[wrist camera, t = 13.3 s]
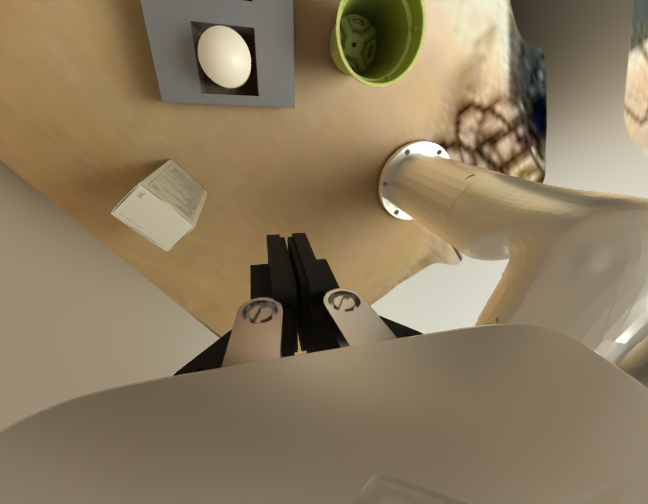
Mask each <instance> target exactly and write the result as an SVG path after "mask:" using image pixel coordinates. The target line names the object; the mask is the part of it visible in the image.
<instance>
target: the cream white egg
mask: <svg viewBox="0 0 648 504" xmlns="http://www.w3.org/2000/svg"><path fill="white" fill-rule="evenodd" d="M198 58H199V62H200V64H201V67H202V69H203V70H204V72H205V73H206V75H207V76H208V77H209V78H210V79H211V80H212V81H214V82H215V83H217V84H218V85H220V86H222V87H224V88H227V89H237V88H240V87H241V86H243V85H244V84H245V83H246V82H247V80H248V78H249V76H250V72H251V56H250V52H249V49H248V47H247V45H246V43H245V41H244V40H243V38H242V37H241V36H240V35H239V34H238V33H237V32H236V31H234V30H233V29H231V28H229V27H226V26H213V27H210V28H208V29H207V30H206V31H205V32H204V33H203V34H202V36H201V37H200V40H199V43H198Z"/></svg>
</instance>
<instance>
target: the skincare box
mask: <svg viewBox="0 0 648 504" xmlns="http://www.w3.org/2000/svg"><path fill="white" fill-rule="evenodd" d="M207 194H208V192H207V191H206V190H205V189H204V188H202V187H201V186H200V185H199V184H198V183H197V182H196V181H195V180H194V179H193V178H192V177H190V176H189V175H188V174H187V173H186V172H185V171H184V170H183V169H181V168H180V167H179V166H178V165H177V164H176V163H175V162H173V161H172V160H171V159H169V160H168V161H167V162H165V163H164V164H163V165H162V166H160V167H159V168H158V169H156V170H155V171H154V172H152V173H151V174H150V175H149V176H147V177H146V178H145V179H144V180H142V181H141V182H140V183H138V184H137V185H136V186H135V187H134V188H133V189H132V190H131V191H130V192H129V193H128V194H127V195H126V196H125V197H124V198H123V199H122V200H121V201H120V202H119V203H118V204H117V205H116V206H115V207H114V209H113V210H112V211H111V214H112V215H113V216H115V217H116V218H117V219H119V220H120V221H122V222H123V223H124V224H126V225H127V226H129V227H130V228H132V229H133V230H135V231H136V232H138V233H139V234H141V235H142V236H144V237H145V238H147V239H148V240H150V241H151V242H153V243H154V244H156V245H157V246H159V247H160V248H162V249H164V250H165V251H167V252H168V251H169V250H171V249H172V248H173V247H174V246H175V245H176V244H178V243H179V242H180V241H181V240H182V239H183V238H184V237H186V236H187V235H188V234H189V233H190V232H191V231H192V230H193V229H194V228H195V226H196V224H197V221H198V218H199V215H200V213H201V210H202V207H203V205H204V202H205V199H206V197H207Z"/></svg>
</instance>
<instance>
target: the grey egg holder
mask: <svg viewBox="0 0 648 504" xmlns="http://www.w3.org/2000/svg"><path fill="white" fill-rule="evenodd" d="M140 2H141V7H142V12H143V16H144V21H145V25H146V30H147V35H148V39H149V44H150V48H151V53H152V58H153V62H154V67H155V71H156V76H157V81H158V85H159V90H160V94H161V99H162V102H168V103H192V104H215V105H239V106H263V107H287V108H295V101H294V17H293V0H251V1H244V0H140ZM213 26H226V27H229V28H231V29H233V30H234V31H236V32H237V33H238V34H239V35H247V36H254V46H255V60H256V75H257V90H258V96H245V95H225V94H206V88H205V81H204V74H203V69H202V67H201V64H200V62H199V58H198V43H199V40H198V33H197V31H206V30H207V29H208V28H210V27H213Z"/></svg>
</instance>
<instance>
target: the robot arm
mask: <svg viewBox="0 0 648 504" xmlns="http://www.w3.org/2000/svg"><path fill="white" fill-rule="evenodd" d="M405 150H406V151H405ZM404 152H405V153H404ZM383 183H384V184H383ZM378 194H379V199H380V201H381V204H382V206H383V207H384V208H385V210H386V211H387V212H388V213H390V214H391V215H392V216H394V217H396V218H398V219H402V220H413V219H415V220H416V221H418V222H419V223H420V224H422V225H423V226H425V227H426V228H427V229H429V230H430V231H432V232H433V233H434V234H436V235H437V236H439V237H440V238H441V239H443V240H444V241H446V242H447V243H449V244H450V245H451V246H453V247H454V248H456V249H457V250H459V251H460V252H462V253H463V254H465V255H467V256H469V257H471V258H474V259H478V260H484V261H497V260H506V259H509V263H508V265H507V267H506V269H505V271H504V272H503V274H502V278H501V280H500V281H499V283H498V285H497V287H496V288H495V290H494V292H493V293H492V295H491V297H490V298H489V300H488V302H487V304H486V306H485V307H484V309H483V311H482V312H481V314H480V316H479V318H478V320H477V322H476V324H475V327H467V328H459V329H453V330H447V331H441V332H434V333H428V334H422V333H420V332H418V331H416V330H413V329H411V328H408V327H406V326H404V325H401V324H399V323H396V322H394V321H391V320H389V319H386V318H384V317H381V316H379V315H378V314H377V313H376V312H375V311H374V310H373V309H372V308H371V306H370V305H369V304H368V302H367V301H366V300H365V299H364V298H363V297H362V296H361V295H360V294H359V293H358V292H356V291H354V290H350V289H344V288H340V287H339V285H338V283H337V281H336V279H335V277H334V275H333V273H332V271H331V269H330V267H329V265H328V263H327V261H326V259H319V260H316V258H315V256H314V253H313V251H312V248H311V246H310V244H309V241H308V239H307V237H306V234H305V233H293V234H292V237H288V250H287V246H286V242H285V238H284V237H281V238H280V236H279V234H278V235H267V250H268V264H261V265H251V300H249V301H247V302H245V303H244V304H243V305H242V306H241V307H240V308H239V310H238V312H237V315H236V319H235V322H234V326H233V329H232V330H230V331H229V332H228V333H226V334H225V335H224V336H223V337H221V338H220V339H219V340H217V341H216V342H215V343H214V344H212V345H211V346H210V347H208V348H207V349H206V350H204V351H203V352H202V353H201V354H199V355H198V356H197V357H195V358H194V359H193V360H192V361H190V362H189V363H188V364H186V365H185V366H184V367H183V368H182V369H180V370H179V371H177V372H176V373H175V374H174V375H173V376H170V377H164V378H159V379H154V380H149V381H144V382H139V383H134V384H129V385H124V386H119V387H114V388H109V389H105V390H102V391H98V392H94V393H90V394H86V395H83V396H80V397H77V398H74V399H71V400H68V401H65V402H62V403H59V404H56V405H53V406H51V407H48V408H46V409H44V410H41V411H39V412H37V413H34V414H32V415H30V416H27V417H26V418H23V419H20V420H18V421H16V422H14V423H12V424H10V425H8V426H6V427H4V428H2V429H1V430H0V504H648V199H644V198H639V197H633V196H627V195H618V194H610V193H602V192H593V191H584V190H576V189H570V188H563V187H557V186H551V185H546V184H542V183H538V182H534V181H529V180H525V179H521V178H517V177H514V176H510V175H506V174H503V173H499V172H496V171H492V170H488V169H485V168H481V167H478V166H474V165H470V164H467V163H463V162H460V161H456V160H452V159H450V158H449V156H448V154H447V152H446V151H445V150H444V149H443V148H442V147H441V146H439V145H438V144H435V143H433V142H429V141H415V142H411V143H409V144H406V145H404V146H403V147H401V148H400V149H398V150H397V151H396V152H395V153H394V154H393V155H392V156H391V157H390V158H389V159H388V161H387V162H386V164H385V166H384V167H383V169H382V172H381V175H380V178H379V183H378ZM394 211H395V212H394ZM297 332H298V336H299V341H300V346H301V350H302V351H306V350H307V353H306V354H300V355H294V352H298V336H297Z"/></svg>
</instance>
